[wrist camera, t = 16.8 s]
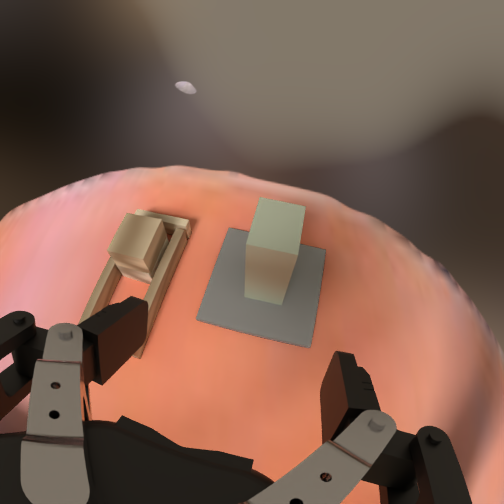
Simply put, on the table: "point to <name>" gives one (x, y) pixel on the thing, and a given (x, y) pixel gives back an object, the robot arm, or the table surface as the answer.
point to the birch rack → (160, 280)
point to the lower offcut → (142, 275)
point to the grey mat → (259, 312)
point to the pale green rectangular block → (272, 249)
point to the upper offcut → (138, 242)
